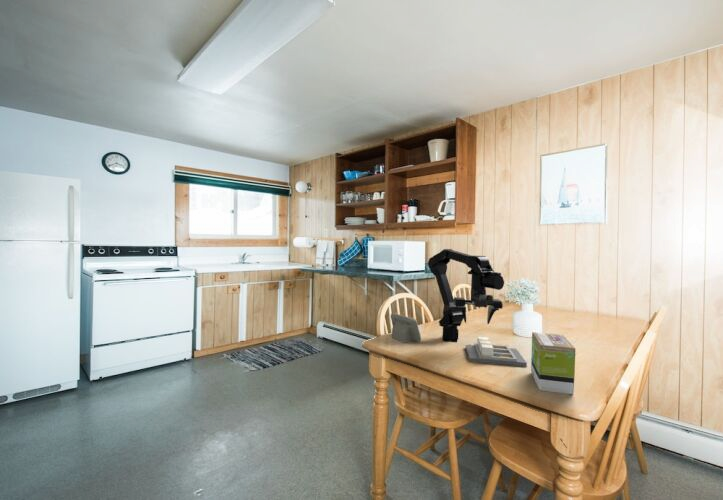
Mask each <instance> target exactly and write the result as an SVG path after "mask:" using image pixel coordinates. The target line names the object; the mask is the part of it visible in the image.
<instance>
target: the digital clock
mask: <svg viewBox="0 0 723 500" xmlns="http://www.w3.org/2000/svg"><path fill="white" fill-rule="evenodd" d="M390 319H391V323H392V329H391V338H393V339H395V340H397V341H400V342H404V343H410V342H417V343H420V342H422V336H421V333H420V329H419V324H418V321H417V319H415V318H412V317H409V316H405V315H403V314H402V315H401V314H398V313H395V312H392V313H391V314H390Z"/></svg>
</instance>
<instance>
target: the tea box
mask: <svg viewBox="0 0 723 500" xmlns="http://www.w3.org/2000/svg"><path fill="white" fill-rule="evenodd" d="M531 334H532V335H531V359H530V360H531V363H530V371H531V374H532V377H533V379H534V381H535V384H536V387H537V388H538V390H539V391H542V392H543V391H544V392H550V393H551V392H552V393H556V394H557V393H559V394H566V395H574V394H575V393H574V391H575V371H576V370H575V369H576V347H574V345H573V344H572V343H571V342H570V341H569V340H568V339H567V337H565V336H564V335H563V334H560V333H559V334H558V333H547V332H543V333H542V332H533V331H532V333H531Z"/></svg>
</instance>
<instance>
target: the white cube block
mask: <svg viewBox="0 0 723 500" xmlns="http://www.w3.org/2000/svg"><path fill="white" fill-rule="evenodd" d="M481 344H485V345H492V343H491V341H490V340H489V341H481V340H479V351H481Z"/></svg>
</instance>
